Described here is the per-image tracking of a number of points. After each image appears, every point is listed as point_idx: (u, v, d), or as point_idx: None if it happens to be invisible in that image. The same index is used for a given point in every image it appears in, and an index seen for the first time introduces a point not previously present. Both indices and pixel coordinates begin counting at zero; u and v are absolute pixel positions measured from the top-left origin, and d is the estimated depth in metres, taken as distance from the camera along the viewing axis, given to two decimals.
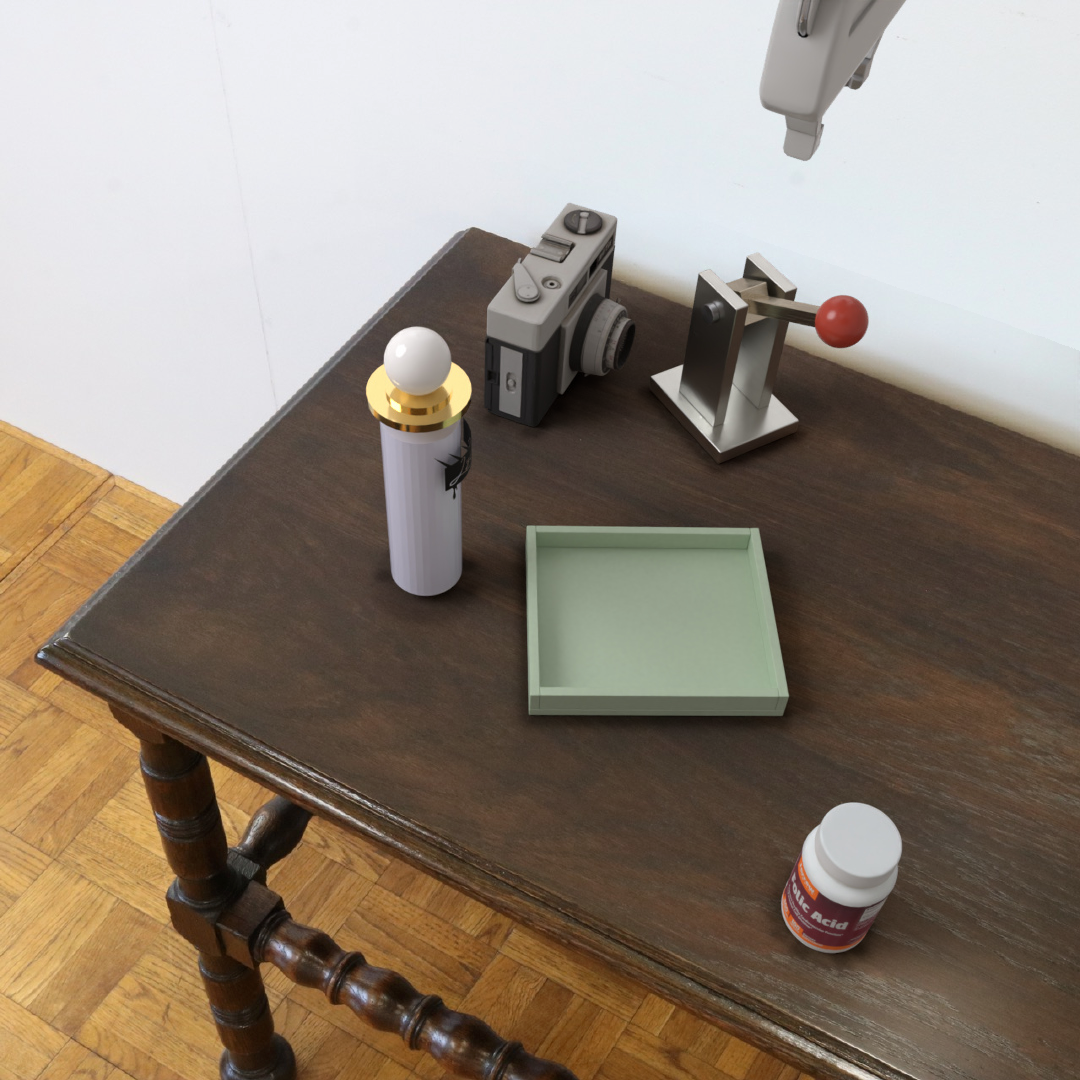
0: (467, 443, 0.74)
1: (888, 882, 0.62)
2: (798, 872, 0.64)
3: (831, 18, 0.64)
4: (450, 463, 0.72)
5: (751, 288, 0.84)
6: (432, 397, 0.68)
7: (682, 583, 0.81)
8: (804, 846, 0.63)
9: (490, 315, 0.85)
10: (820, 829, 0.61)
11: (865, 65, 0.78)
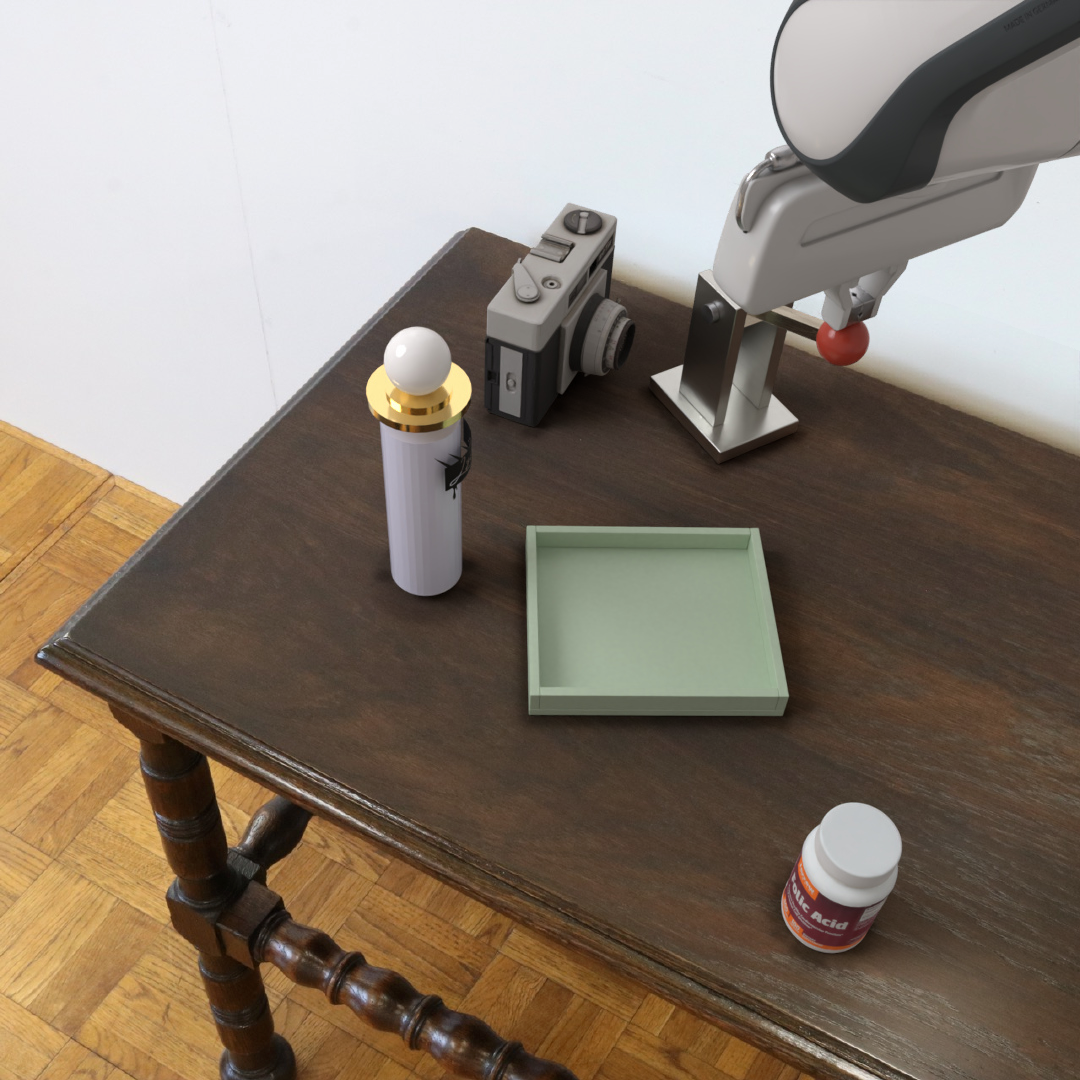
0: (467, 443, 0.74)
1: (888, 882, 0.62)
2: (798, 872, 0.64)
3: (765, 223, 0.64)
4: (450, 463, 0.72)
5: None
6: (432, 397, 0.68)
7: (682, 583, 0.81)
8: (804, 846, 0.63)
9: (490, 315, 0.85)
10: (820, 829, 0.61)
11: (863, 303, 0.74)
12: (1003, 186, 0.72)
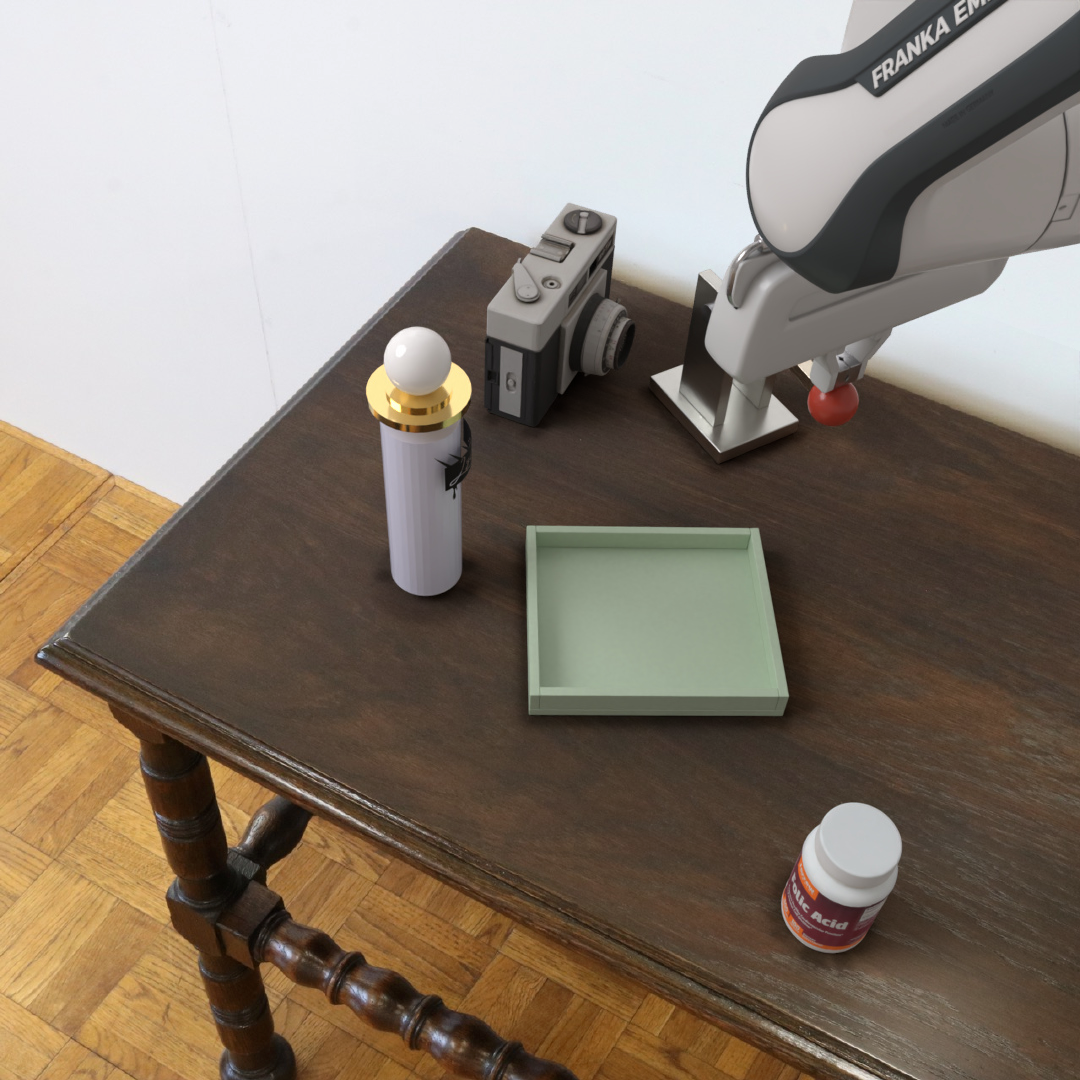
0: (467, 443, 0.74)
1: (888, 882, 0.62)
2: (798, 872, 0.64)
3: (755, 301, 0.67)
4: (450, 463, 0.72)
5: None
6: (432, 397, 0.68)
7: (682, 583, 0.81)
8: (804, 846, 0.63)
9: (490, 315, 0.85)
10: (820, 829, 0.61)
11: (849, 367, 0.78)
12: None
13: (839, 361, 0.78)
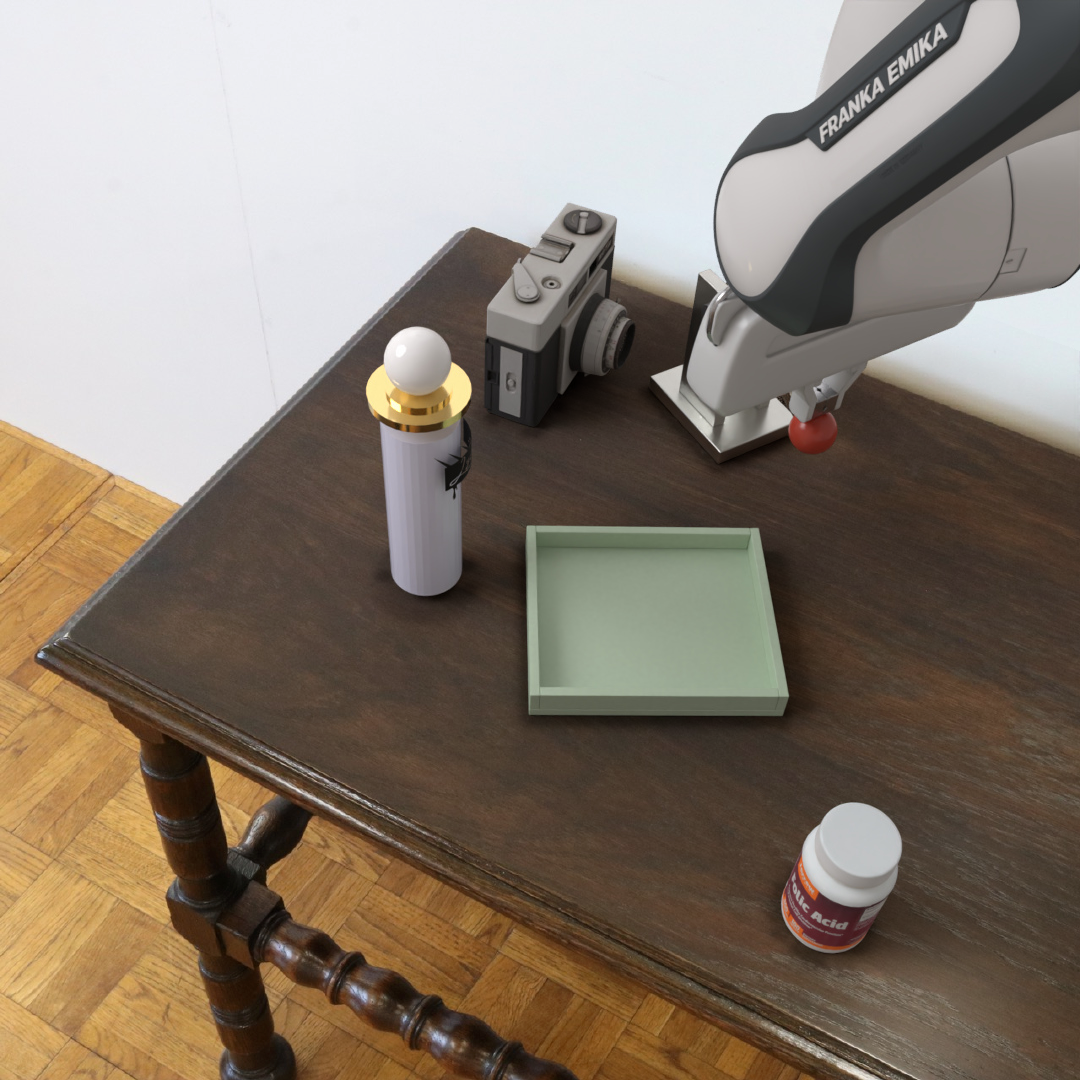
0: (467, 443, 0.74)
1: (888, 882, 0.62)
2: (798, 872, 0.64)
3: (733, 339, 0.70)
4: (450, 463, 0.72)
5: None
6: (432, 397, 0.68)
7: (682, 583, 0.81)
8: (804, 846, 0.63)
9: (490, 315, 0.85)
10: (820, 829, 0.61)
11: (827, 398, 0.81)
12: None
13: (817, 392, 0.81)
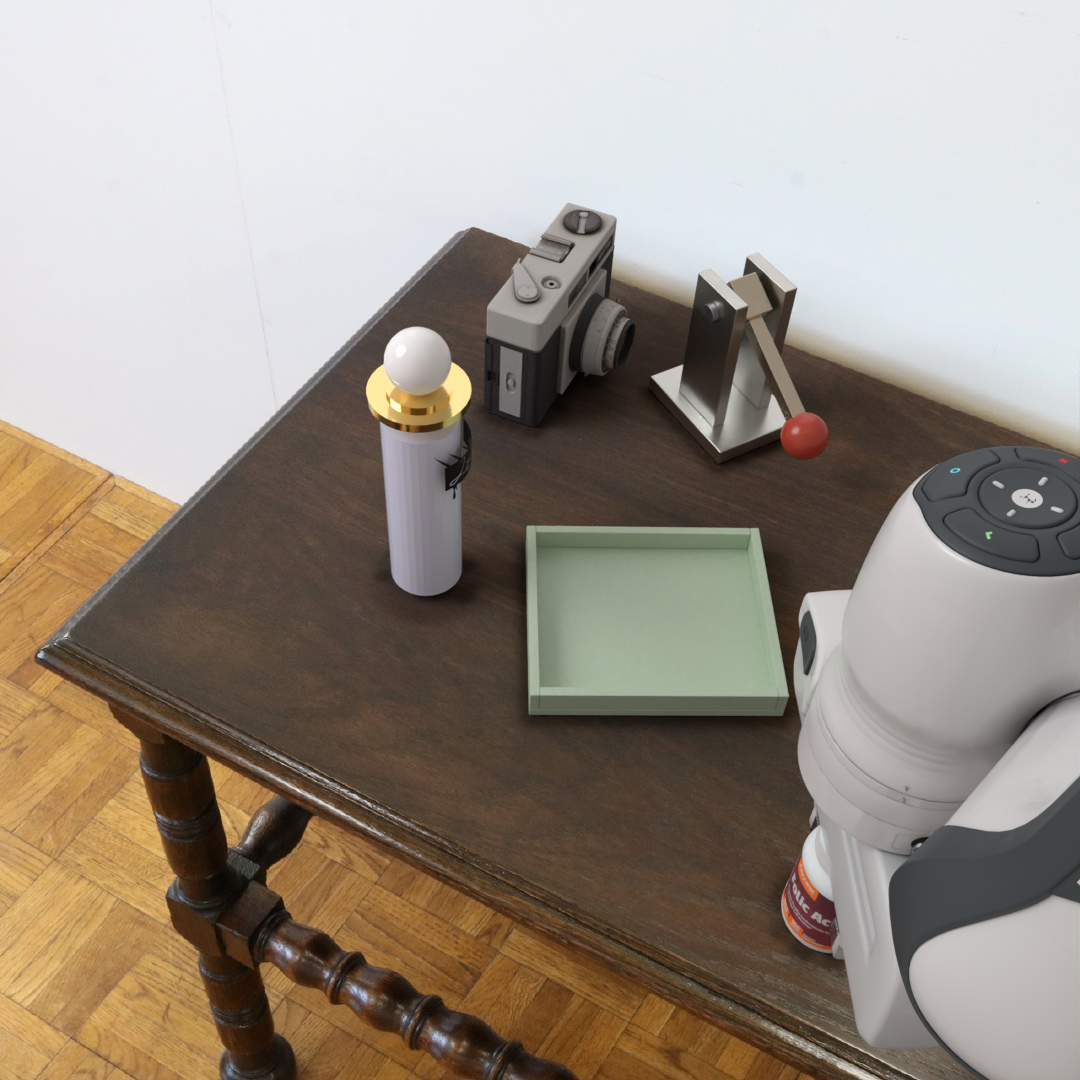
0: (467, 443, 0.74)
1: None
2: (798, 872, 0.64)
3: None
4: (450, 463, 0.72)
5: (757, 314, 0.84)
6: (432, 397, 0.68)
7: (682, 583, 0.81)
8: (804, 846, 0.63)
9: (490, 315, 0.85)
10: (820, 830, 0.61)
11: None
12: None
13: None
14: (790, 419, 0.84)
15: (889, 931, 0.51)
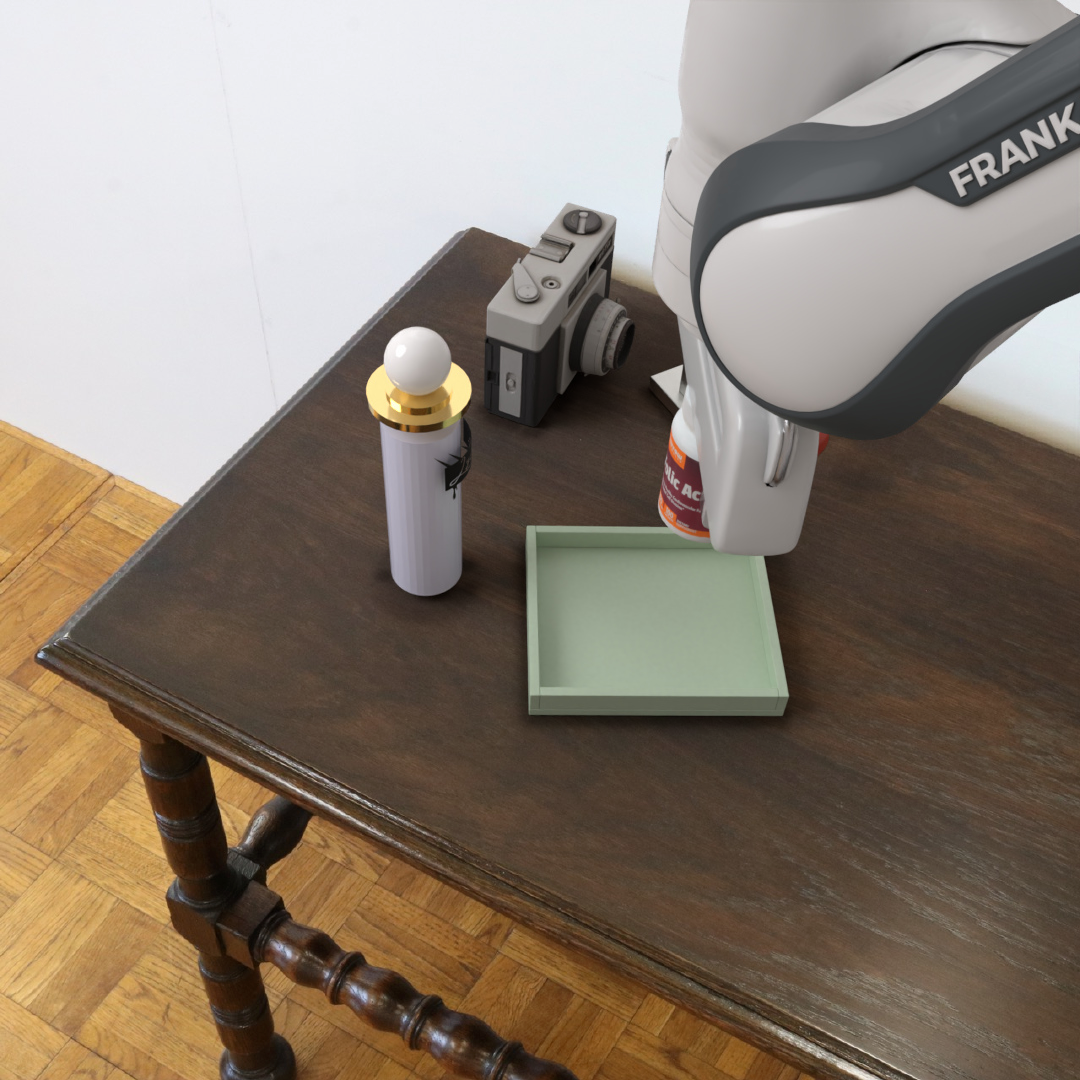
0: (467, 443, 0.74)
1: None
2: (668, 447, 0.63)
3: (805, 461, 0.50)
4: (450, 463, 0.72)
5: None
6: (432, 397, 0.68)
7: (682, 583, 0.81)
8: (674, 418, 0.62)
9: (490, 315, 0.85)
10: (686, 388, 0.61)
11: None
12: None
13: None
14: None
15: (732, 404, 0.51)
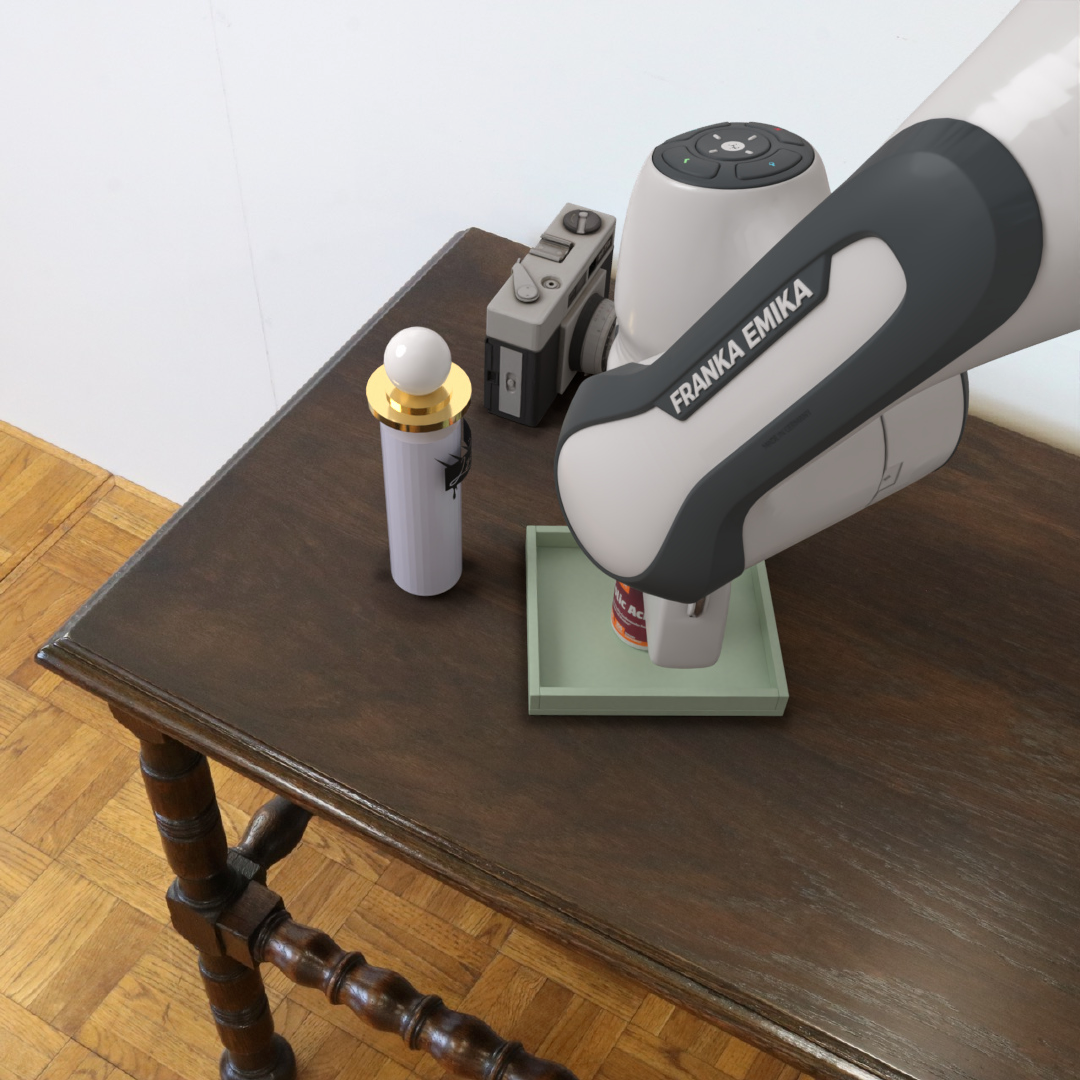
0: (467, 443, 0.74)
1: None
2: None
3: (721, 598, 0.62)
4: (450, 463, 0.72)
5: None
6: (432, 397, 0.68)
7: None
8: None
9: (490, 315, 0.85)
10: None
11: None
12: None
13: None
14: None
15: None
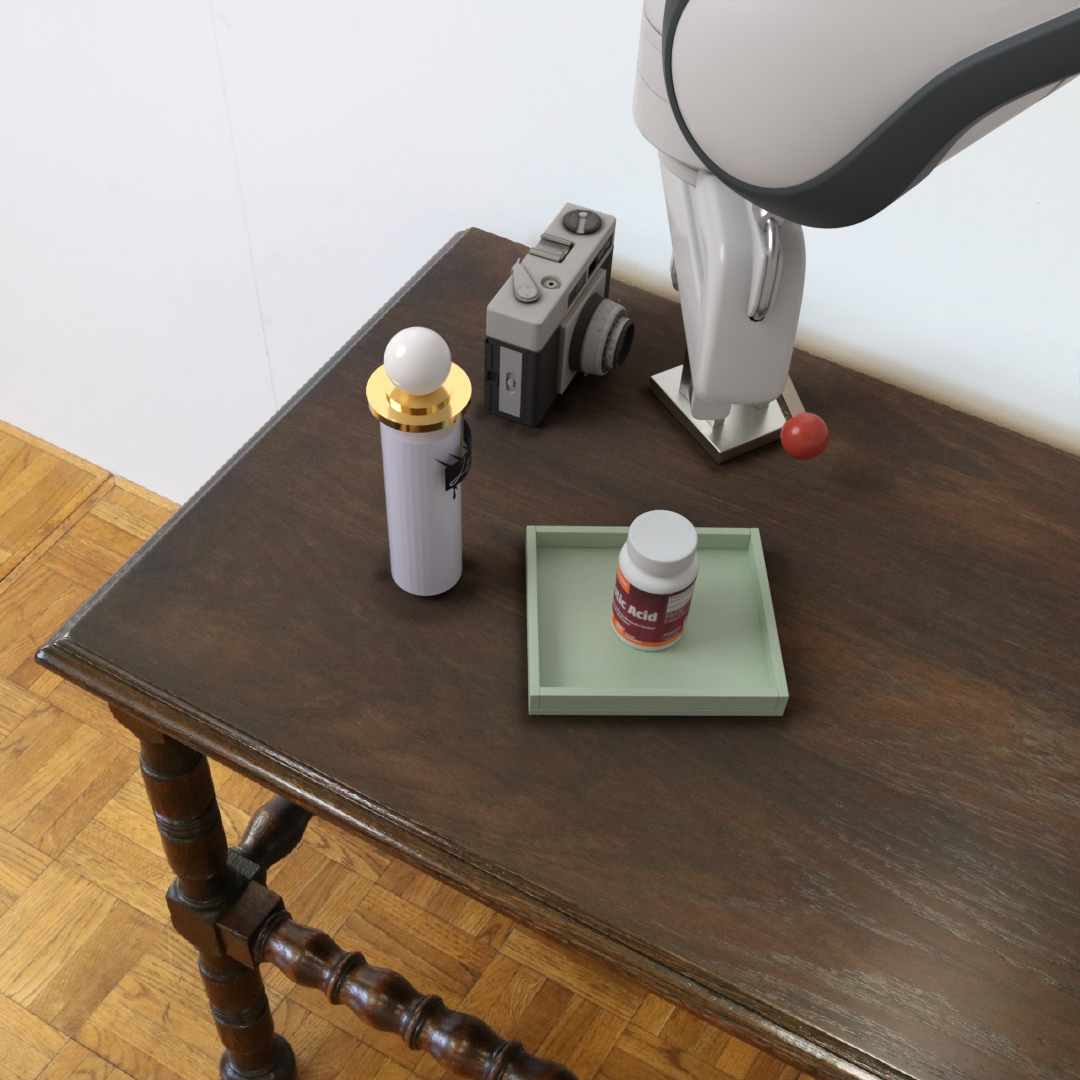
0: (467, 443, 0.74)
1: (688, 574, 0.73)
2: (617, 574, 0.75)
3: (791, 292, 0.48)
4: (450, 463, 0.72)
5: None
6: (432, 397, 0.68)
7: None
8: (621, 550, 0.75)
9: (490, 315, 0.85)
10: None
11: None
12: None
13: None
14: (790, 419, 0.84)
15: (714, 232, 0.48)
